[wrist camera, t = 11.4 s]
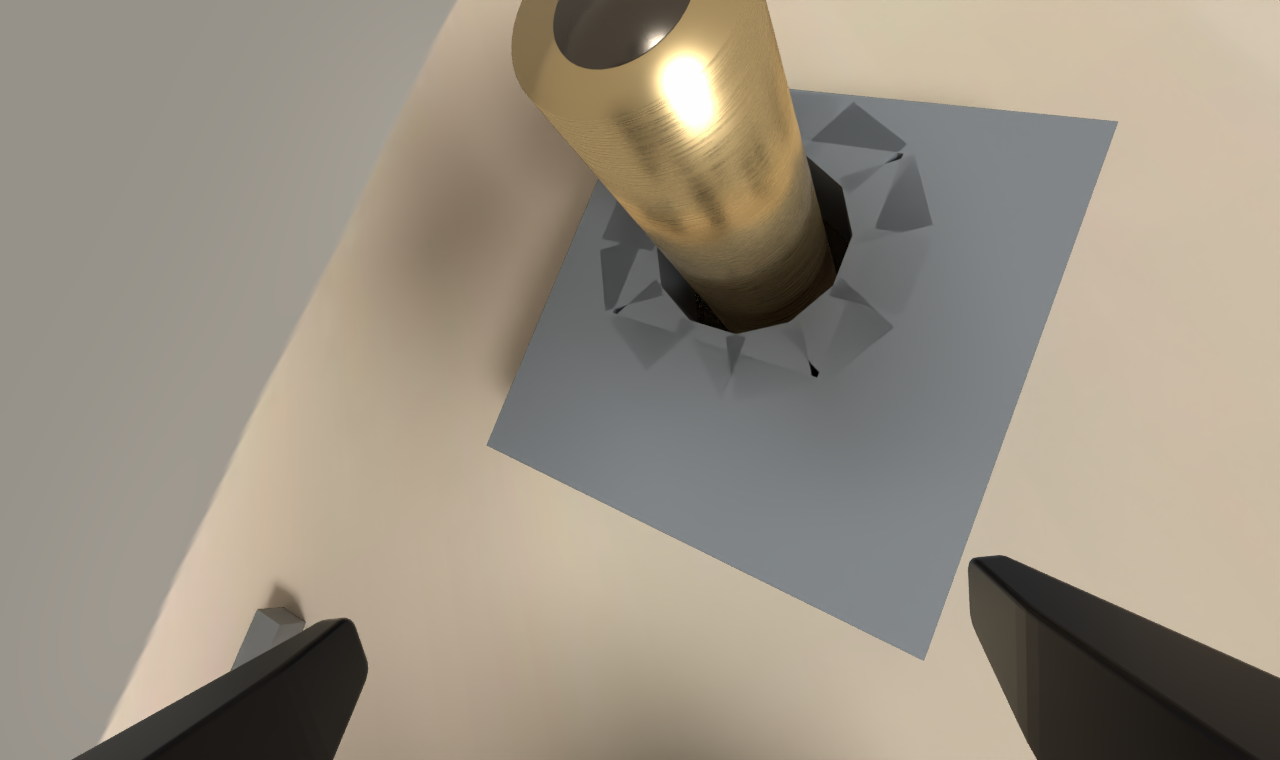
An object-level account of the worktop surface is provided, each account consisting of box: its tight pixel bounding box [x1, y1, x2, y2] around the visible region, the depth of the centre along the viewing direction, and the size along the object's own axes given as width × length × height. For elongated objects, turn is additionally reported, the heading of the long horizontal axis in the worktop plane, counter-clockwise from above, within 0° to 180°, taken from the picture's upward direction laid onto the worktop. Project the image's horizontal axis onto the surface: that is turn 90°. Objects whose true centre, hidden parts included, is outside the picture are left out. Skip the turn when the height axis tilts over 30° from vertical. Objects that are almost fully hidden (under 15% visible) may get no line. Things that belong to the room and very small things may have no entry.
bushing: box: [512, 0, 836, 334], centre depth 16 cm, size 4×4×13 cm
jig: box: [487, 89, 1118, 661], centre depth 19 cm, size 14×14×4 cm
